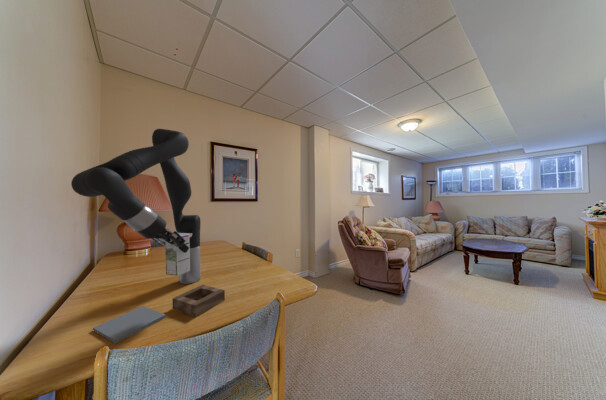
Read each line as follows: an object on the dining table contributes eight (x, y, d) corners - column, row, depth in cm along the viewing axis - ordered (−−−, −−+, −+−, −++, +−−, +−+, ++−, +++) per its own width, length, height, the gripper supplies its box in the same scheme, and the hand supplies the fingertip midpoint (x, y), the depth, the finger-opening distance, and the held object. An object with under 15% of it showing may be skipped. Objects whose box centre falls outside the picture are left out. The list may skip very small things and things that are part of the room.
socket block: (172, 308, 76) (172, 298, 76) (202, 293, 88) (202, 284, 88) (195, 317, 71) (195, 305, 70) (224, 299, 82) (224, 290, 82)
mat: (92, 330, 64) (92, 327, 64) (143, 308, 76) (143, 305, 76) (115, 343, 58) (115, 340, 58) (165, 317, 70) (165, 314, 70)
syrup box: (190, 270, 76) (190, 232, 77) (176, 276, 71) (176, 235, 71) (179, 269, 78) (179, 232, 78) (164, 274, 73) (164, 234, 73)
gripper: (168, 212, 65) (200, 242, 75) (141, 212, 70) (175, 240, 81) (149, 231, 60) (187, 260, 70) (123, 229, 66) (161, 256, 76)
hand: (180, 249), depth 76 cm, fingers closed on syrup box, 6 cm apart
